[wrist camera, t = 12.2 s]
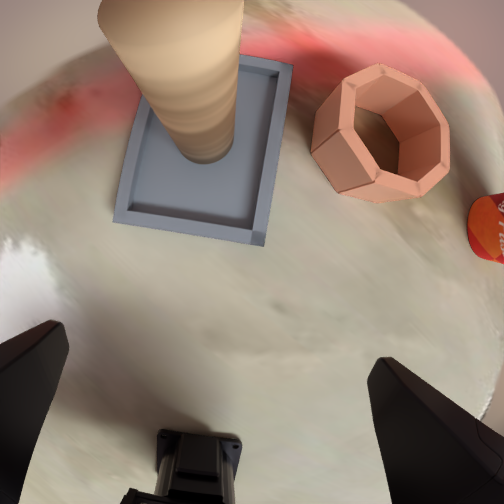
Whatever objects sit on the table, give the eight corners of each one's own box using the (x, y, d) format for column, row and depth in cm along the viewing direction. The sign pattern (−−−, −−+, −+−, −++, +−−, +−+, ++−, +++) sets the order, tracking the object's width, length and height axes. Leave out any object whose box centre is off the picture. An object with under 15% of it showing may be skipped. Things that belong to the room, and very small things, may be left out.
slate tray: (260, 245, 18) (264, 246, 17) (120, 222, 17) (112, 222, 16) (288, 75, 18) (293, 64, 16) (162, 58, 17) (159, 47, 15)
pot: (402, 210, 19) (447, 207, 14) (305, 185, 18) (333, 171, 13) (408, 117, 19) (447, 96, 14) (318, 85, 18) (344, 49, 13)
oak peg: (239, 156, 17) (262, 24, 5) (183, 170, 17) (97, 67, 4) (226, 106, 17) (228, -53, 4) (172, 119, 17) (99, -21, 4)
